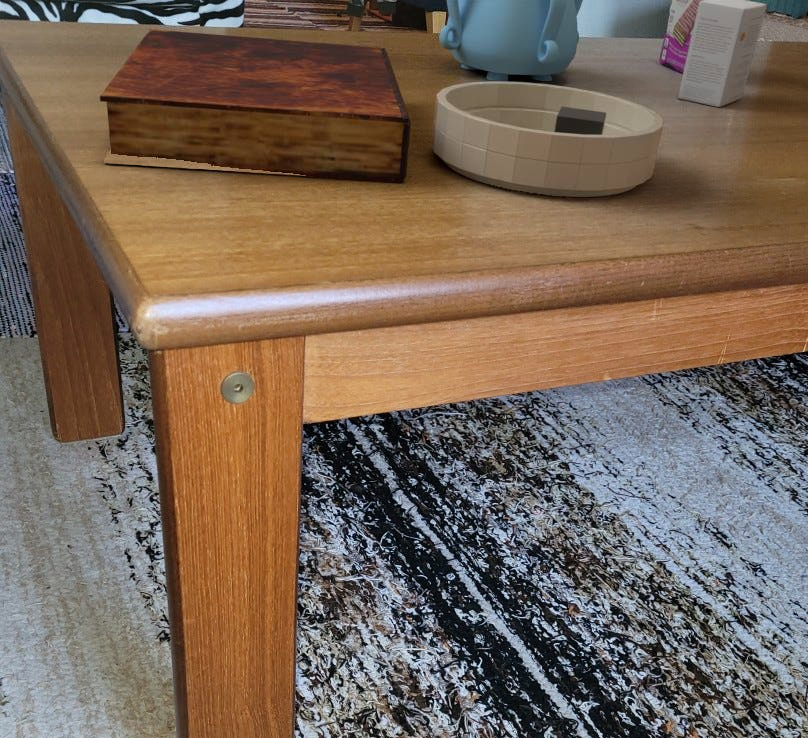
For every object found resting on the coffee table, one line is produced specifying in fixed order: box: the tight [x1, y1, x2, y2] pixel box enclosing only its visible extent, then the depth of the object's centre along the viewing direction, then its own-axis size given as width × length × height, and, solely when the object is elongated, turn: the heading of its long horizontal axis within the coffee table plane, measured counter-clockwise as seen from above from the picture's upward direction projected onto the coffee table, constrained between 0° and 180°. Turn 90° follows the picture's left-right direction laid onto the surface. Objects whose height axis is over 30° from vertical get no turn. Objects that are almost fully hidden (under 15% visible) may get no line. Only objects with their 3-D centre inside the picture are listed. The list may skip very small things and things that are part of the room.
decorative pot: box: [438, 0, 584, 82], centre depth 118 cm, size 16×16×14 cm
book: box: [99, 28, 412, 184], centre depth 90 cm, size 30×24×5 cm
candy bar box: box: [658, 0, 749, 74], centre depth 129 cm, size 11×5×16 cm, turn 17°
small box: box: [677, 0, 768, 108], centre depth 117 cm, size 8×6×10 cm
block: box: [554, 107, 606, 135], centre depth 86 cm, size 4×4×4 cm
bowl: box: [431, 80, 664, 198], centre depth 87 cm, size 20×20×5 cm
